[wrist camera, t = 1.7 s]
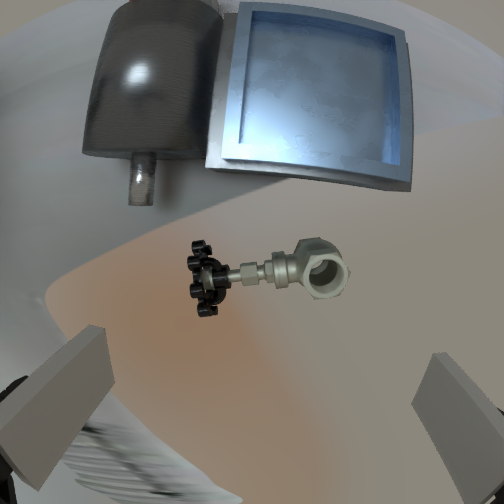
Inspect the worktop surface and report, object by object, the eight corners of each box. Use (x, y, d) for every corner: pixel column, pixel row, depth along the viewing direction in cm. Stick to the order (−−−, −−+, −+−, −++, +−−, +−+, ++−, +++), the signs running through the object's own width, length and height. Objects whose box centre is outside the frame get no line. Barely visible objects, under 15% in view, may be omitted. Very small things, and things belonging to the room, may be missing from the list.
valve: (329, 218, 25) (200, 235, 26) (350, 227, 19) (180, 249, 20) (334, 285, 27) (213, 301, 27) (354, 313, 20) (199, 333, 21)
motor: (117, 200, 25) (53, 208, 16) (138, 47, 22) (93, 2, 12) (382, 221, 25) (440, 240, 15) (387, 62, 21) (433, 19, 11)
